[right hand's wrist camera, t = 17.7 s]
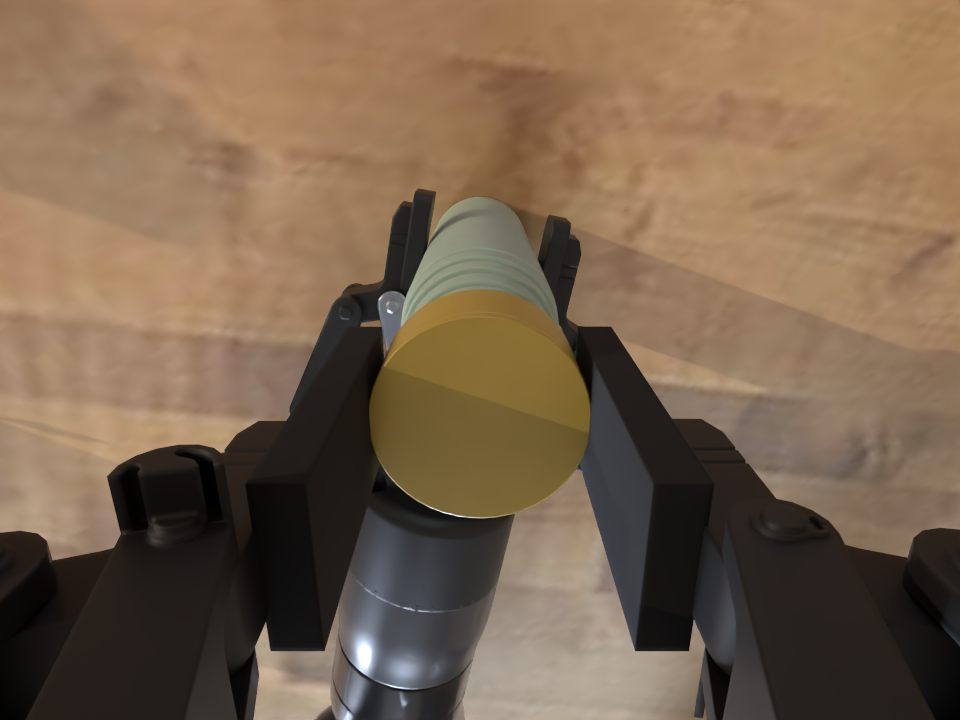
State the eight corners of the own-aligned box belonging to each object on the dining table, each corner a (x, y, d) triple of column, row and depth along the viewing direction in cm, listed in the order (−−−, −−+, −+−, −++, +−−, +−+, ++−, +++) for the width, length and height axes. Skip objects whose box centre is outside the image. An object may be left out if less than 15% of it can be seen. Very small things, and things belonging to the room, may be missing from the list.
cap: (604, 426, 15) (623, 472, 13) (435, 493, 15) (428, 547, 13) (531, 255, 13) (540, 278, 11) (348, 337, 14) (327, 372, 12)
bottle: (439, 292, 32) (384, 518, 14) (428, 201, 31) (347, 316, 12) (528, 284, 32) (597, 499, 13) (522, 191, 30) (589, 292, 12)
